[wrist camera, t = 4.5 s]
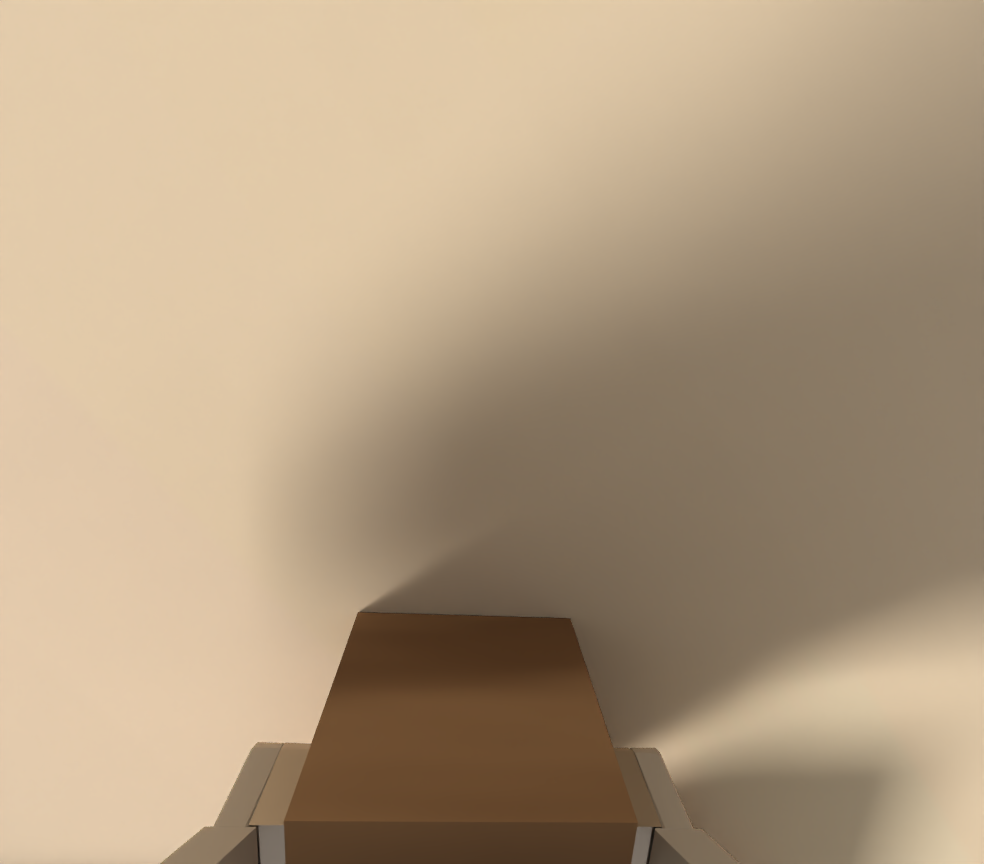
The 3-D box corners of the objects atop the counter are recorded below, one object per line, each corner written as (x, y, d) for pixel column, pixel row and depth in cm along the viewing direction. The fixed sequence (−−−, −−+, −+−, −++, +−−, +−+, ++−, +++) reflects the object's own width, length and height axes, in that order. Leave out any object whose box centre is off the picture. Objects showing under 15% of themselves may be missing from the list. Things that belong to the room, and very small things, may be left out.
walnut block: (358, 611, 11) (284, 820, 6) (570, 618, 11) (637, 822, 7) (357, 785, 12) (293, 1067, 7) (551, 787, 12) (598, 1060, 8)
